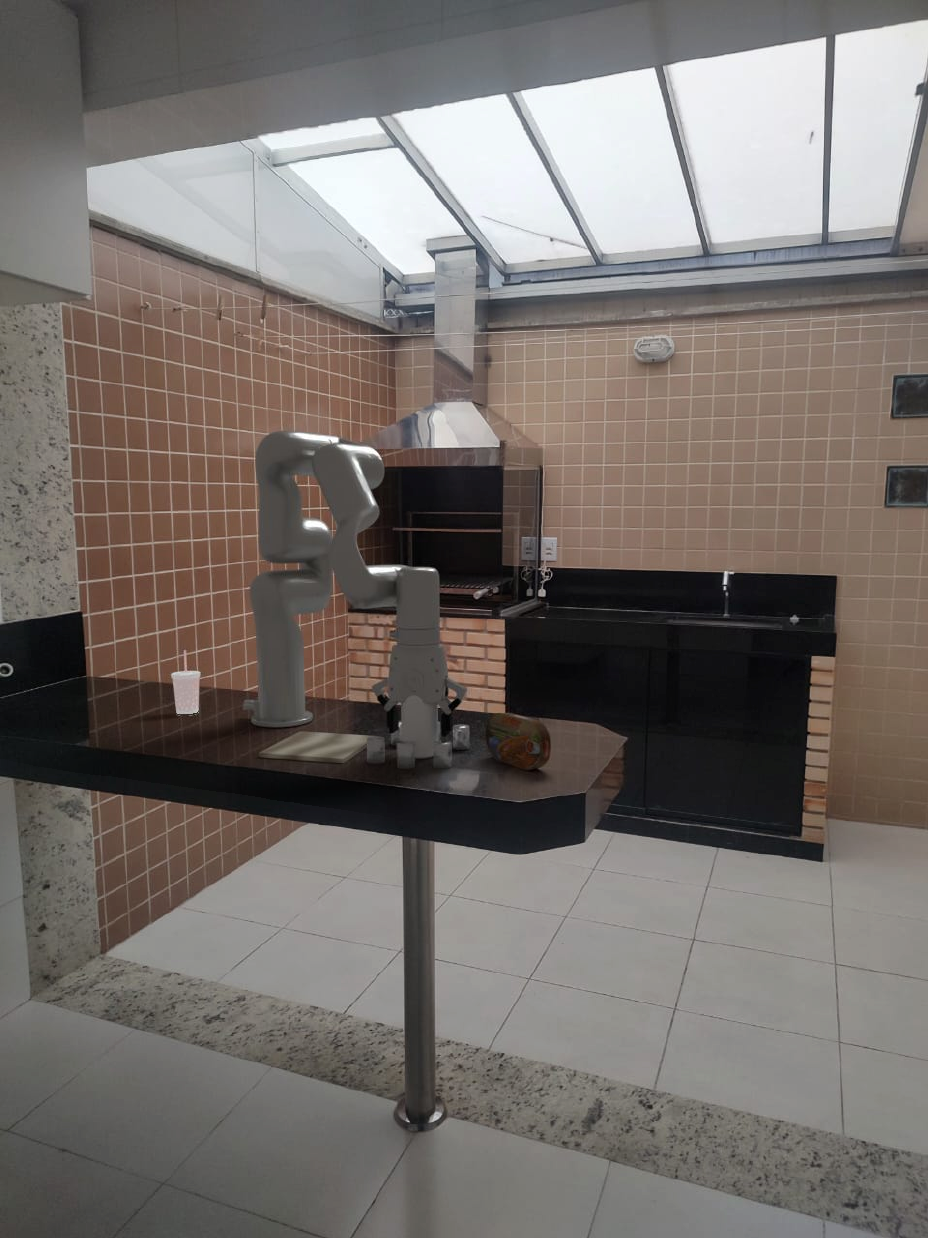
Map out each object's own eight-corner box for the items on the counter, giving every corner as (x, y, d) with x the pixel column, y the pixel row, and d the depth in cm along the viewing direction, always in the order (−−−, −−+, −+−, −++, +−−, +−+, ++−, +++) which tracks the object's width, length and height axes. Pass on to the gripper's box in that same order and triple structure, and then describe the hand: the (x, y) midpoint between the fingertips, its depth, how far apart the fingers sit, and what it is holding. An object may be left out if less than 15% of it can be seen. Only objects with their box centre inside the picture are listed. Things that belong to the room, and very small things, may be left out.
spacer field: (361, 765, 138) (360, 742, 137) (397, 739, 155) (396, 718, 154) (446, 771, 134) (446, 748, 133) (473, 744, 151) (473, 723, 151)
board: (259, 757, 143) (259, 752, 143) (300, 735, 158) (300, 731, 158) (343, 763, 139) (343, 758, 139) (377, 740, 154) (377, 736, 154)
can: (403, 749, 148) (402, 684, 146) (439, 749, 147) (438, 684, 146) (399, 759, 141) (398, 691, 140) (436, 759, 141) (436, 691, 140)
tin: (484, 755, 143) (483, 709, 143) (498, 753, 145) (498, 706, 144) (539, 776, 131) (539, 725, 130) (554, 773, 133) (554, 722, 132)
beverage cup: (177, 710, 181) (175, 648, 180) (205, 710, 182) (203, 648, 180) (169, 716, 175) (166, 652, 174) (197, 716, 176) (195, 652, 174)
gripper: (364, 639, 141) (366, 735, 143) (460, 641, 136) (461, 741, 138) (379, 633, 148) (381, 725, 150) (471, 636, 143) (472, 731, 145)
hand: (419, 733), depth 144 cm, fingers open, 9 cm apart
